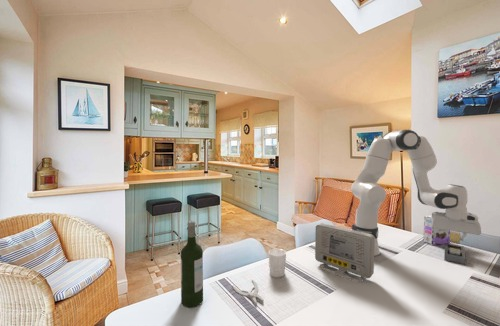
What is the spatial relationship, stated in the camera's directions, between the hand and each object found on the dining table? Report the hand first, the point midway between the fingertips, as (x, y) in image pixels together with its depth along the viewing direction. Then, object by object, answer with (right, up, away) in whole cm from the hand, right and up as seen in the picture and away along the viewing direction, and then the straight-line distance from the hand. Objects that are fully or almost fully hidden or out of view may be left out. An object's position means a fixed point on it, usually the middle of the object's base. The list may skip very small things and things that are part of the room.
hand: (454, 239), depth 129 cm
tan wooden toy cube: (0, -2, 0) cm, 2 cm away
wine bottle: (-134, -10, -42) cm, 141 cm away
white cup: (-101, -9, -22) cm, 103 cm away
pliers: (-113, -10, -37) cm, 119 cm away
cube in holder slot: (-7, -8, -7) cm, 13 cm away
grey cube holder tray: (-3, -8, -3) cm, 9 cm away
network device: (-70, -9, -20) cm, 74 cm away
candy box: (+1, -7, +15) cm, 16 cm away
